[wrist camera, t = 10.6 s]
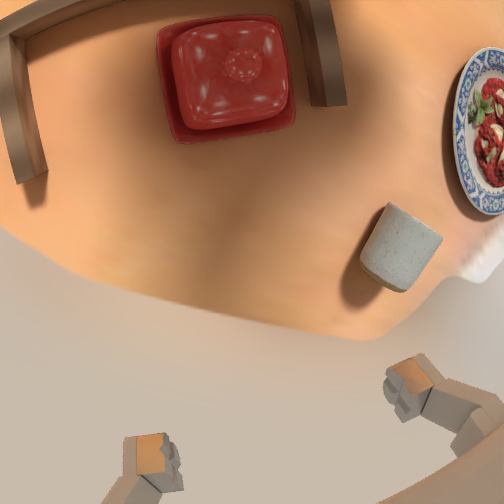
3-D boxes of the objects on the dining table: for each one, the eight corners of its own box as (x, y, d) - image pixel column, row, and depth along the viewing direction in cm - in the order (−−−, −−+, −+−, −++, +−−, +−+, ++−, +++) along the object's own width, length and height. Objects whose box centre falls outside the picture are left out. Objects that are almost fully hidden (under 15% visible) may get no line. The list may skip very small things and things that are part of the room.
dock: (7, 31, 18) (-10, 25, 15) (303, -36, 21) (317, -48, 18) (32, 176, 25) (17, 184, 22) (330, 104, 29) (347, 105, 26)
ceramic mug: (344, 256, 36) (379, 290, 30) (376, 194, 34) (419, 217, 27) (399, 278, 40) (433, 308, 34) (428, 225, 38) (467, 250, 31)
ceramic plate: (540, 130, 37) (552, 134, 34) (486, 239, 43) (499, 246, 40) (482, 15, 26) (496, 14, 23) (412, 134, 32) (429, 137, 29)
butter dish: (277, 16, 24) (312, -11, 17) (293, 127, 29) (332, 134, 22) (154, 30, 22) (146, 1, 15) (173, 147, 28) (171, 160, 20)
